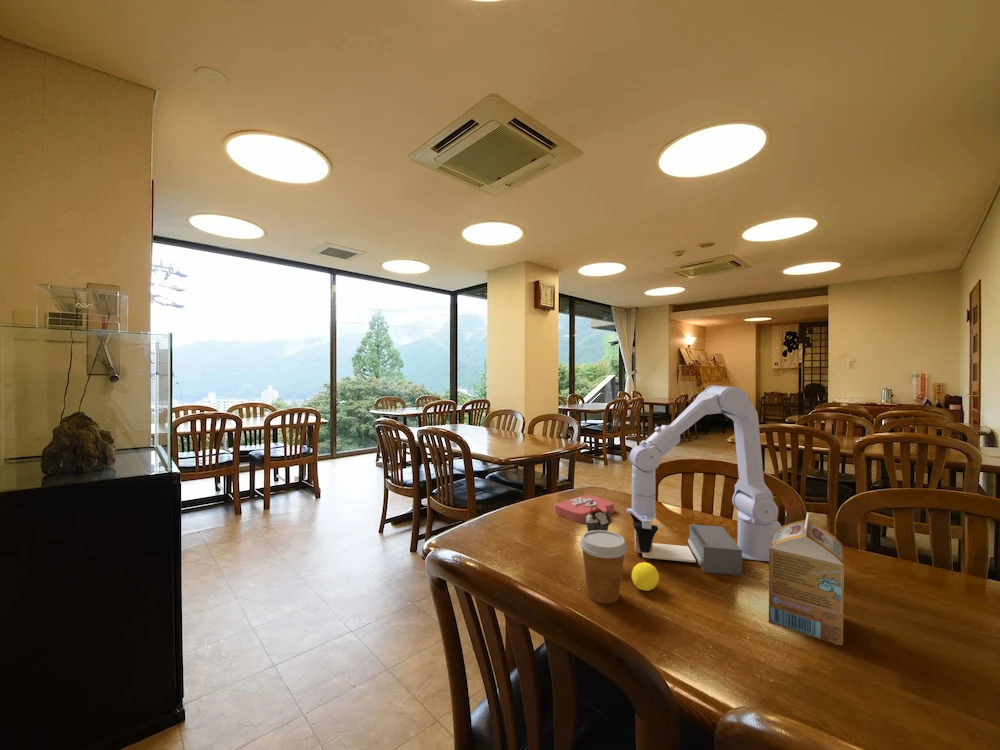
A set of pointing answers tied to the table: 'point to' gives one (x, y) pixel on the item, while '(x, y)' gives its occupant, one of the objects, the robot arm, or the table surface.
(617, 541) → the disposable coffee cup
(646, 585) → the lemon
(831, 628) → the milk carton
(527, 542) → the table surface
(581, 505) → the plaque
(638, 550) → the peach block on base
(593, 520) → the sundae
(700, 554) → the dispenser
